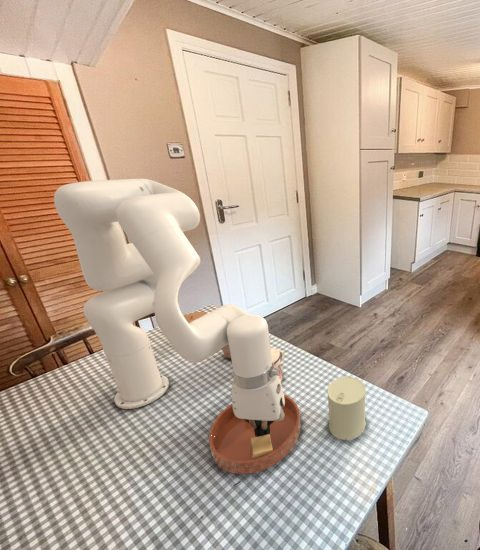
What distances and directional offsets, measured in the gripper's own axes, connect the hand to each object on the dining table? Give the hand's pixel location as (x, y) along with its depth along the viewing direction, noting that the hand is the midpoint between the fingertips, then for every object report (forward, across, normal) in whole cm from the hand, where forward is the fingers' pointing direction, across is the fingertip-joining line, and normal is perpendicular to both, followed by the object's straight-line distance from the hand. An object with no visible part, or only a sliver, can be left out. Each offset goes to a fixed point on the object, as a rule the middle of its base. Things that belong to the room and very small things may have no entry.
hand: (263, 436), depth 69 cm
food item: (+4, +19, -33) cm, 38 cm away
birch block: (+2, 0, +3) cm, 4 cm away
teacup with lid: (+3, +7, -23) cm, 24 cm away
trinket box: (+4, +42, -43) cm, 60 cm away
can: (+3, -19, -7) cm, 20 cm away
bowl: (+3, +3, -3) cm, 5 cm away
